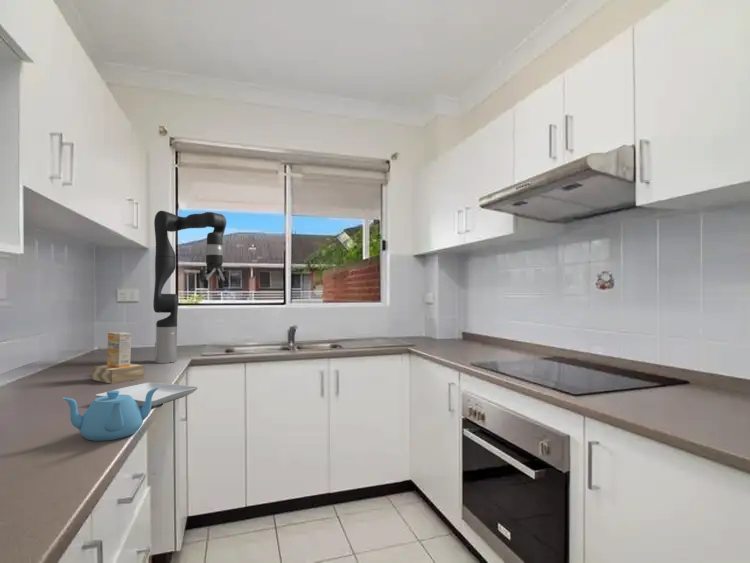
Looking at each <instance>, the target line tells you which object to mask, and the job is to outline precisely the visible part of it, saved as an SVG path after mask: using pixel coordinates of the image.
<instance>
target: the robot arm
mask: <svg viewBox="0 0 750 563" xmlns="http://www.w3.org/2000/svg"><path fill="white" fill-rule="evenodd" d="M153 224H154V225H153V226H154V236H155V256H154V258H155V259H154V261H155V262H154V276H155V277H154V290H153V292H154V293H153V311H154V312H155V313H159V314H161V313H162V314H163V313H165V314H166V313H170V314H169V315H168V316H166V317H164V318H162V319H158V320H157V321H156V323H155V327H156V328H155V329H156V330H155V342H154V363H157V364H169V363H170V362H171V363H175V361H176V362H177V353H178V352H177V351H178V348H177V347H178V345H177V344H178V309H179V297H178V295H177V294H176V293H162V291H163V288H164V286H165V284H166V283H167V281H168V280H169V278H170V277H171V276H172V275H173V273H174V271H175V270H176V265H177V264H176V263H177V262H176V261H177V258H176V257H177V256H176V253H175V250H174V247H173V246H172V244H171V241H170V238H169V236H168V234H169V233H168V232H171V233H172V232H173V233H174V232H178V231H183V230H186V229H188V230H189V229H204V228H214V229H213V231H212V232H211V231H210V232H208V233H207V236H206V248H205V249H206V250H205V265H206V266H205V265H201V266H200V268H199V279H201V280H202V281H203V282H202V283H203V288H204V289H209V279H210V278H211V277H213V276H214V277H217V279H218V280H219V282H218V288H219V289H224V287H225V281H226V280H228V279H229V278H228V275H229V274H228V273H229V272H228V267H226V266H225V267H222V265H223V264H224V263H223V262H224V261H223V259H224V258H223V257H224V256H223V254H224V250H223V249H224V247H223V236H224V234H225V230H226V227H227V218H226V217H225V216H224V215H223V214H222V213H217V212H212V211H206V212H202V213H191V214H188V215H187V216H180V215H176V214H174V213H171V212H169V211H166V210H158V212H156V214H155V216H154V222H153Z"/></svg>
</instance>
